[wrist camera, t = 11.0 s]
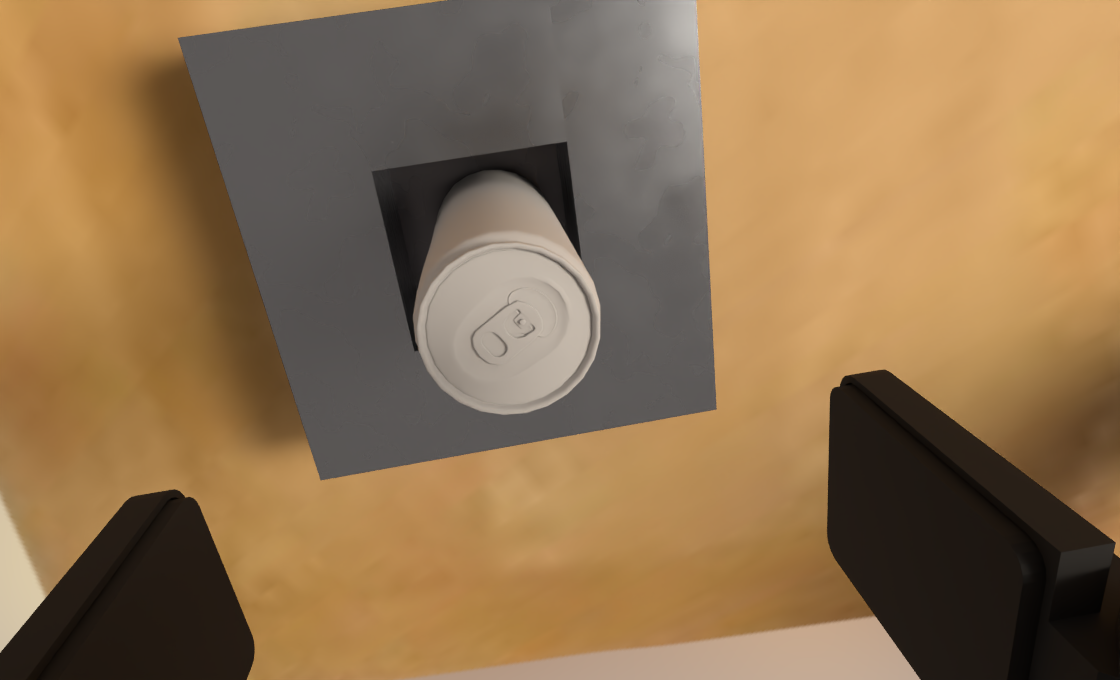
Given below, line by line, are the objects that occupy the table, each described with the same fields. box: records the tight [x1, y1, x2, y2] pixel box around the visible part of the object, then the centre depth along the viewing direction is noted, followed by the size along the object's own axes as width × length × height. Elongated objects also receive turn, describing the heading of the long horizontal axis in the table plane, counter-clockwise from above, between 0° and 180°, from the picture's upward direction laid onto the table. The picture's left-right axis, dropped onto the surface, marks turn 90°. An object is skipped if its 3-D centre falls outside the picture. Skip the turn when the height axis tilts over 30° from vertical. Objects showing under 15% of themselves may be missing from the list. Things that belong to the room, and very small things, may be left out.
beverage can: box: [413, 170, 600, 415], centre depth 22 cm, size 5×5×12 cm
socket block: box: [178, 0, 716, 480], centre depth 26 cm, size 16×16×5 cm
